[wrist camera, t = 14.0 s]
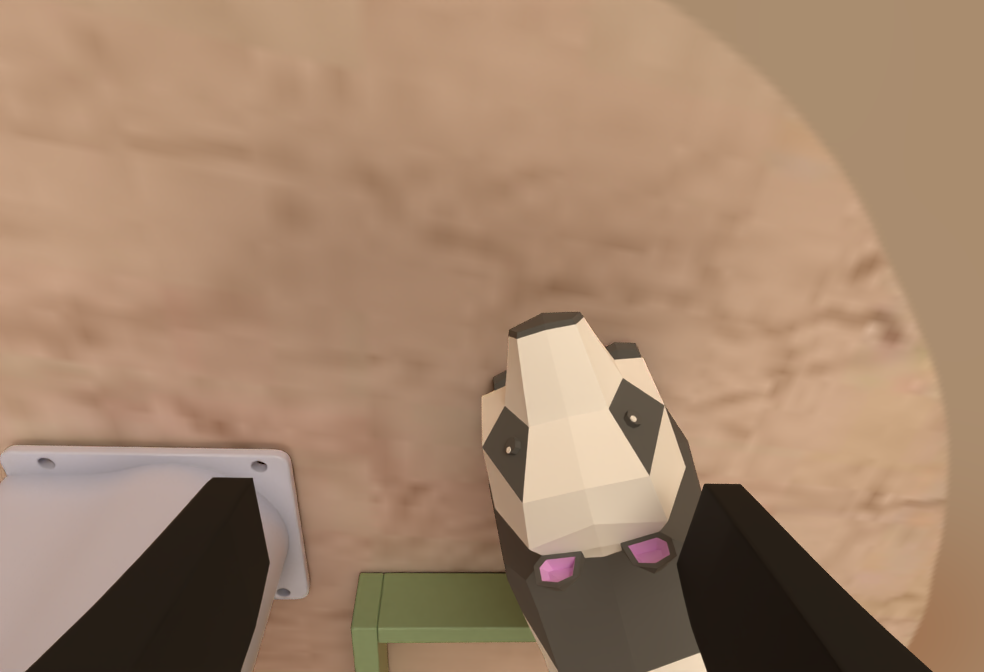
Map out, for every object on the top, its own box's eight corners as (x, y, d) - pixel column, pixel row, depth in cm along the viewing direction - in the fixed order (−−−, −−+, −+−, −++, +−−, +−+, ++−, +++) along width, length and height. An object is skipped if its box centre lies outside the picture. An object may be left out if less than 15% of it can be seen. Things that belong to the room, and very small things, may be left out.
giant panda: (682, 534, 24) (788, 825, 16) (546, 562, 25) (578, 854, 16) (619, 181, 17) (752, 371, 9) (430, 233, 18) (383, 456, 9)
